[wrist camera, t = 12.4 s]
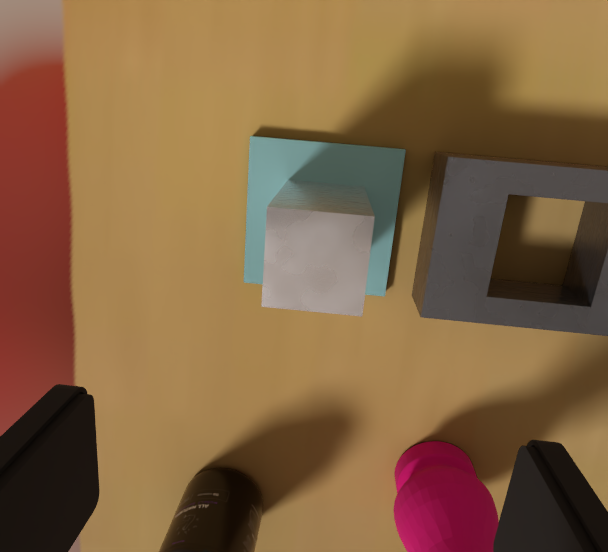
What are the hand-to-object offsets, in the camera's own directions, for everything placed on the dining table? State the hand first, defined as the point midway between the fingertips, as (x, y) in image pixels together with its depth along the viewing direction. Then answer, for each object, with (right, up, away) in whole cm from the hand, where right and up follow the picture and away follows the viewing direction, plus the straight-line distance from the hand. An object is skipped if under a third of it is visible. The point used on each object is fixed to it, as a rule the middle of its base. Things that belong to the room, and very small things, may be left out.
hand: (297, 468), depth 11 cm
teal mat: (+1, +8, +23) cm, 24 cm away
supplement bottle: (-7, -15, +31) cm, 35 cm away
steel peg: (+1, +8, +22) cm, 24 cm away
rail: (+18, +7, +22) cm, 29 cm away
